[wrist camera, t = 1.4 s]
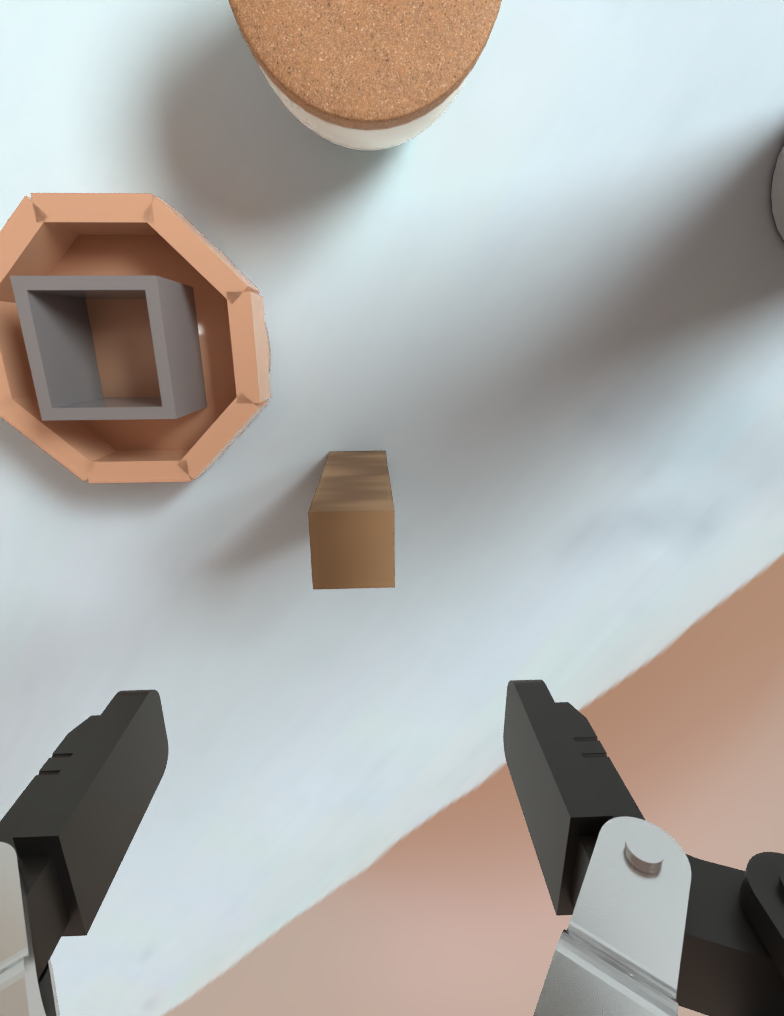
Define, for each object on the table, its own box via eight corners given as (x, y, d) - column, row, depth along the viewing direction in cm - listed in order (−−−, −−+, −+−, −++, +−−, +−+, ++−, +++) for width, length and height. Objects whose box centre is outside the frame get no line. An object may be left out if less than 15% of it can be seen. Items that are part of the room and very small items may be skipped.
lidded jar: (388, 225, 28) (397, 170, 19) (219, 83, 26) (140, -54, 17) (513, 35, 26) (590, -129, 17) (339, -140, 23) (320, -439, 14)
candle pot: (259, 214, 28) (230, 180, 22) (279, 463, 32) (259, 490, 26) (-4, 213, 27) (-103, 179, 21) (53, 467, 31) (-17, 495, 26)
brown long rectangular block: (385, 450, 32) (394, 510, 21) (385, 503, 33) (394, 587, 22) (329, 451, 32) (308, 512, 20) (332, 504, 33) (313, 589, 22)
